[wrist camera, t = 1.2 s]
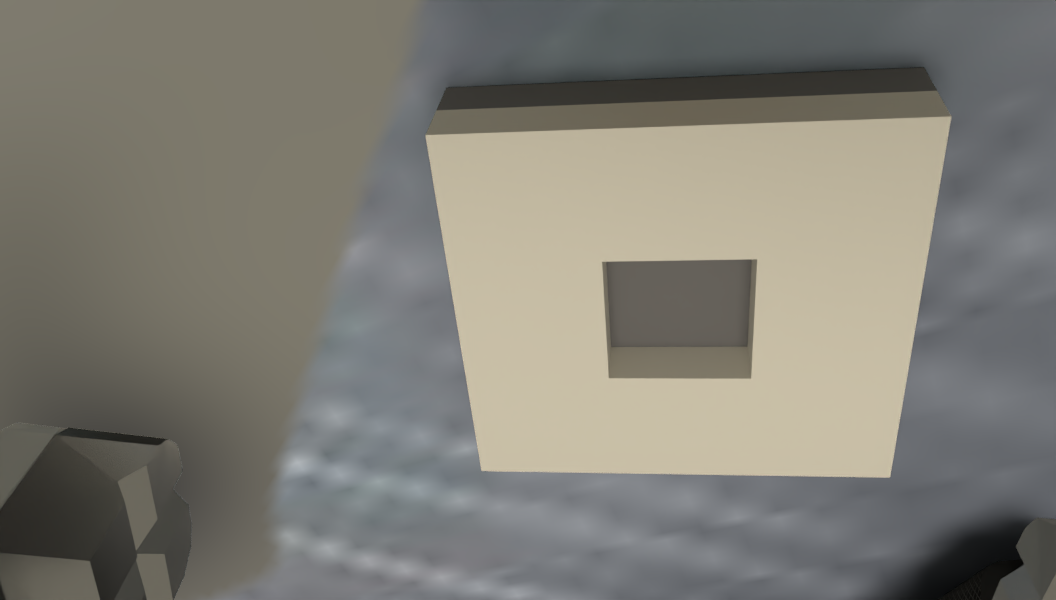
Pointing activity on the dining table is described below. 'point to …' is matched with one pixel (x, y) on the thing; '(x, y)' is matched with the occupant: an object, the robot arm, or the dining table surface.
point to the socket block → (689, 267)
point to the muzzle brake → (983, 582)
